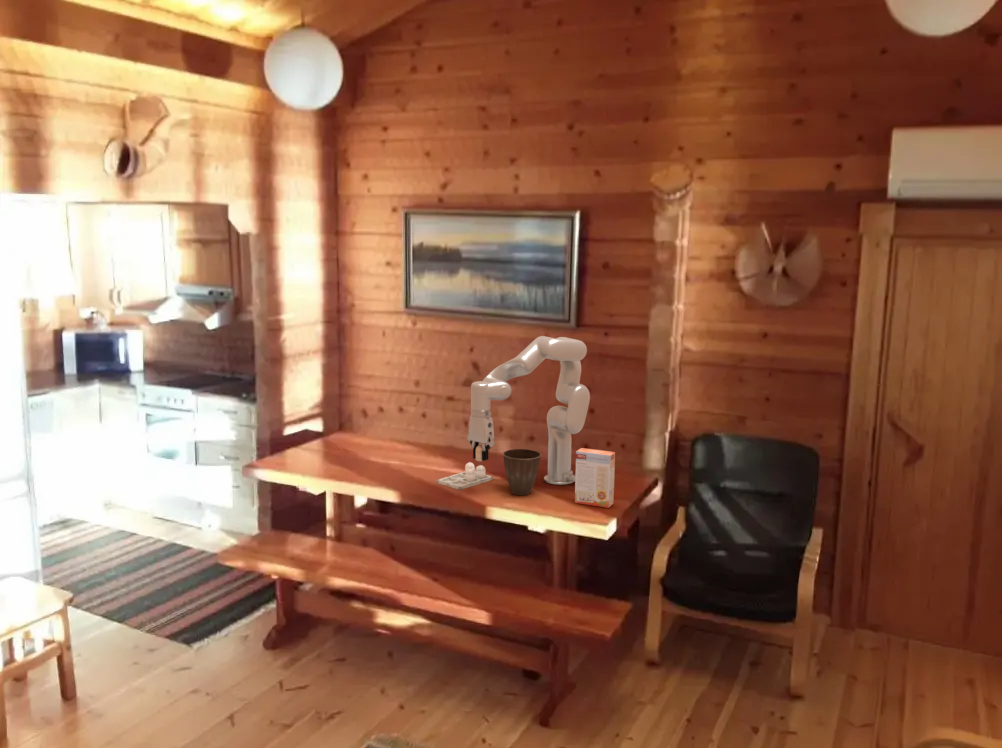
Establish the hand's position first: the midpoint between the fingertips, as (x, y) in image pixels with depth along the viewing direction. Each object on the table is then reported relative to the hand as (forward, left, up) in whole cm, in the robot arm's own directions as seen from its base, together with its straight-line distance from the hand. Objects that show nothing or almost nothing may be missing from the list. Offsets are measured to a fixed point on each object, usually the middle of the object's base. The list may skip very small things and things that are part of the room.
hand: (480, 458), depth 341 cm
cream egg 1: (+18, -12, -14) cm, 26 cm away
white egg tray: (+15, -6, -15) cm, 22 cm away
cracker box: (-39, -22, -15) cm, 47 cm away
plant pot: (-10, -13, -15) cm, 22 cm away
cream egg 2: (+12, -6, -14) cm, 19 cm away
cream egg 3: (+12, -12, -14) cm, 22 cm away
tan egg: (0, 0, -1) cm, 1 cm away
